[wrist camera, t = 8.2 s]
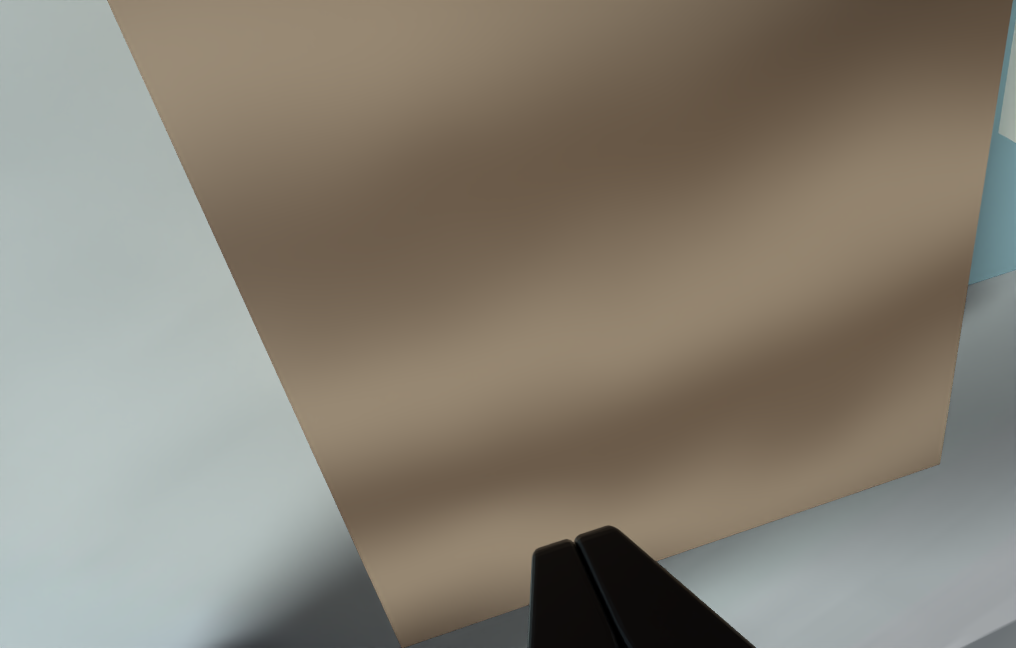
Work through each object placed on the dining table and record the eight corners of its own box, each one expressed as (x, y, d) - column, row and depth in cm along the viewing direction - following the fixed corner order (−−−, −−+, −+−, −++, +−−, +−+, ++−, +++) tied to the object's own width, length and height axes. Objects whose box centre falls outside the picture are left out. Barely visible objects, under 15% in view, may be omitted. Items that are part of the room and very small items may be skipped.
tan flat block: (851, 368, 26) (939, 463, 23) (378, 524, 24) (401, 648, 21) (928, -822, 12) (1170, -996, 9) (-102, -620, 11) (-230, -743, 8)
